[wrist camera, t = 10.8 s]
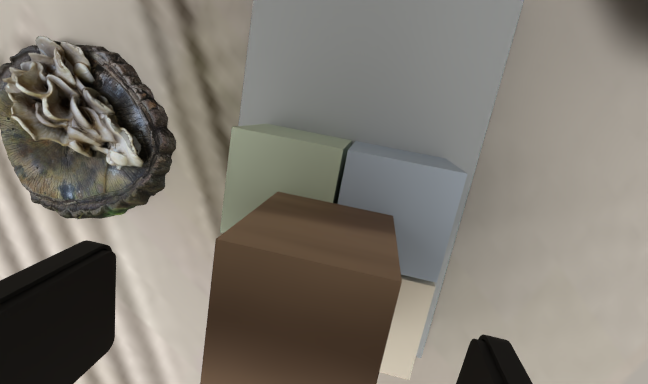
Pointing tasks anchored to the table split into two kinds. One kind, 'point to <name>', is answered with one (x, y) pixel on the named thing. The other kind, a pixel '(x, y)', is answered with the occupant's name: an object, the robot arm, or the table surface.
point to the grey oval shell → (82, 129)
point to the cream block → (407, 326)
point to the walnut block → (301, 295)
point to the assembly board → (382, 76)
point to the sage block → (280, 167)
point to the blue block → (406, 200)
